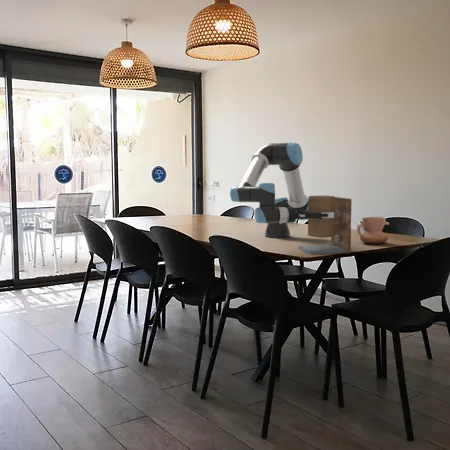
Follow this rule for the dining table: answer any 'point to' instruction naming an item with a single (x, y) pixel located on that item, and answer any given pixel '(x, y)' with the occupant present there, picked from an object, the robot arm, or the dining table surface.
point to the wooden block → (324, 225)
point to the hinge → (362, 229)
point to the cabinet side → (342, 224)
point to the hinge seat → (321, 249)
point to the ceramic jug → (373, 230)
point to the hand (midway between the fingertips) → (328, 214)
